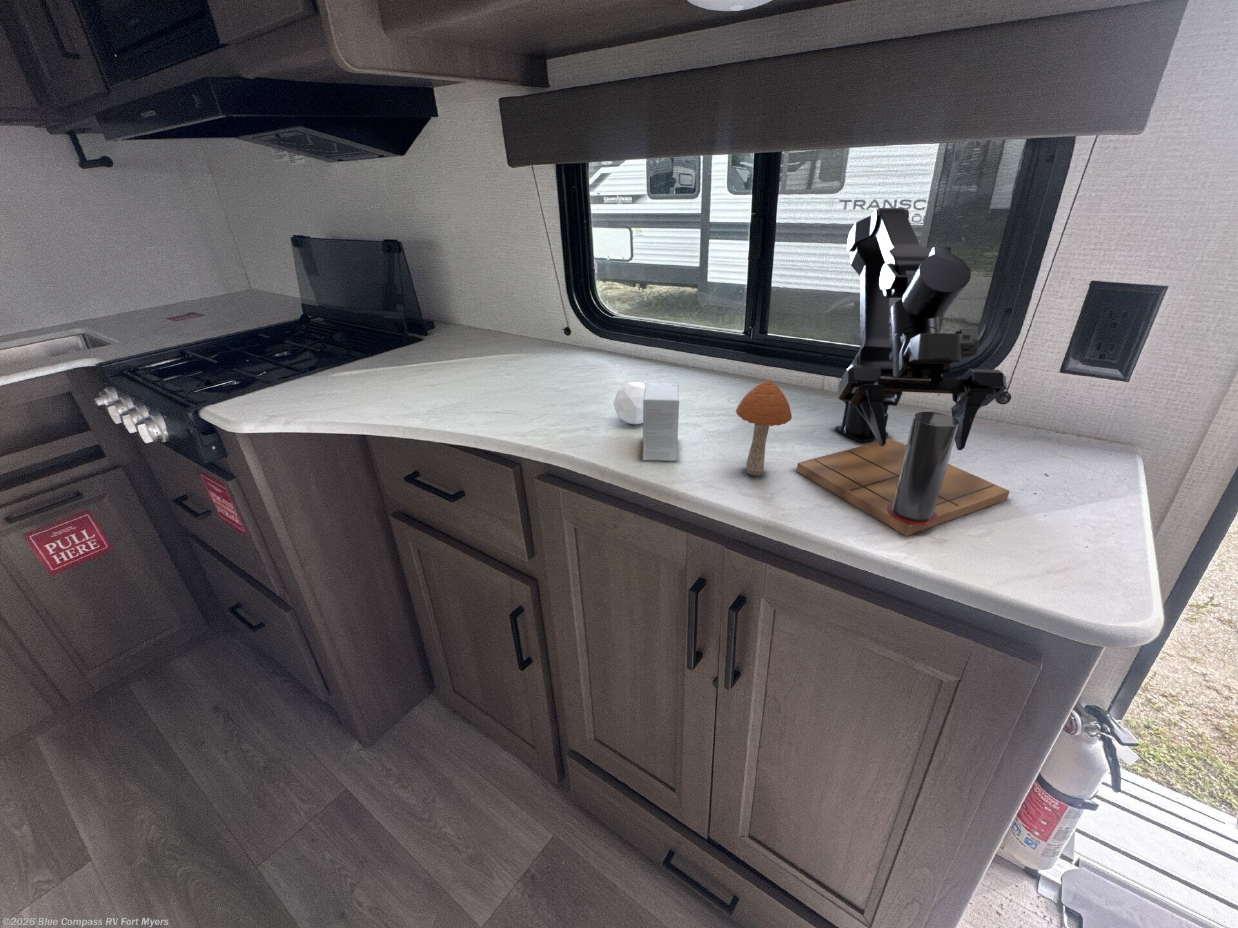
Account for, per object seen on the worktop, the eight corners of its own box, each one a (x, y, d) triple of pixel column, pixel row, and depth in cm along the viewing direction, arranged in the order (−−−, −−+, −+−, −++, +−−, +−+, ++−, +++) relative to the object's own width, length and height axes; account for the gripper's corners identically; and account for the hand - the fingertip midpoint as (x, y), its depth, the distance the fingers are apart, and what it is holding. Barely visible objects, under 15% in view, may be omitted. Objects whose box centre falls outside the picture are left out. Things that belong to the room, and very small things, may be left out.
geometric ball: (629, 431, 108) (627, 391, 110) (665, 424, 104) (663, 383, 105) (605, 424, 102) (604, 381, 103) (643, 416, 98) (641, 372, 99)
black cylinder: (885, 502, 75) (906, 411, 69) (921, 502, 75) (946, 411, 69) (901, 522, 71) (925, 426, 65) (940, 522, 71) (967, 426, 65)
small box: (644, 440, 98) (645, 382, 93) (676, 441, 97) (679, 382, 93) (641, 460, 91) (642, 399, 86) (676, 461, 90) (679, 399, 86)
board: (796, 471, 87) (797, 461, 86) (888, 446, 95) (890, 437, 94) (912, 540, 70) (915, 529, 69) (1014, 503, 78) (1017, 493, 77)
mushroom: (785, 488, 82) (799, 390, 75) (730, 484, 83) (739, 387, 77) (781, 464, 89) (793, 372, 82) (730, 460, 90) (738, 370, 84)
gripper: (858, 301, 69) (862, 418, 65) (1024, 304, 67) (1040, 427, 62) (836, 347, 80) (838, 451, 75) (979, 351, 77) (989, 459, 72)
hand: (921, 447), depth 71 cm, fingers open, 9 cm apart
